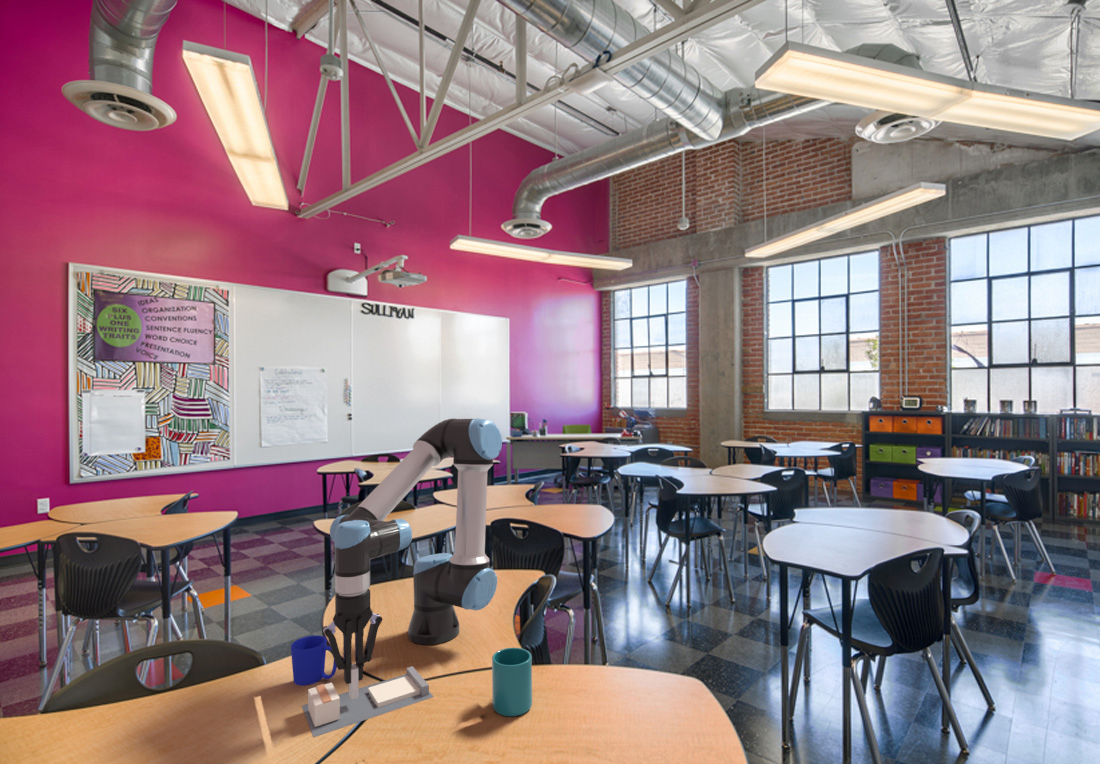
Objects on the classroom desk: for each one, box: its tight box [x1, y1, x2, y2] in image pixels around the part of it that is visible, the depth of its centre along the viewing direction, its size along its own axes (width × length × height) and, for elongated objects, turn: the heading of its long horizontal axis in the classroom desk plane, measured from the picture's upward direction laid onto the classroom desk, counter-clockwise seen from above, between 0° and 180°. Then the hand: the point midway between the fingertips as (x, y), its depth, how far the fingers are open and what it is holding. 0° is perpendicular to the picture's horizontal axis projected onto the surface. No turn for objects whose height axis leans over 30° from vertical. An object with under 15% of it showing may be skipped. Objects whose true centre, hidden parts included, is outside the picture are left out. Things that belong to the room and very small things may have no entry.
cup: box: [491, 647, 533, 717], centre depth 124 cm, size 9×12×11 cm
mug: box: [290, 635, 340, 686], centre depth 134 cm, size 8×12×10 cm
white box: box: [307, 682, 340, 727], centre depth 118 cm, size 5×8×5 cm, turn 34°
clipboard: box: [301, 665, 434, 738], centre depth 123 cm, size 26×14×3 cm, turn 124°
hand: (353, 695), depth 122 cm, fingers closed
